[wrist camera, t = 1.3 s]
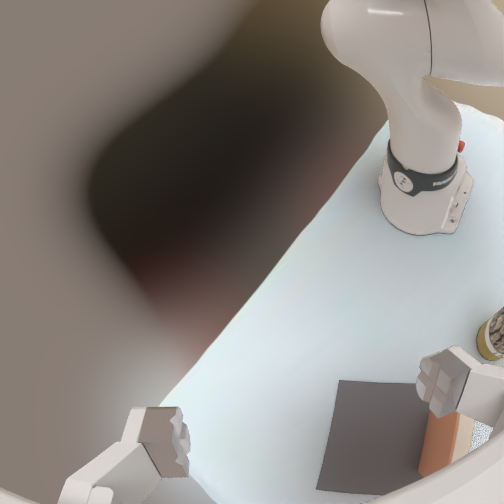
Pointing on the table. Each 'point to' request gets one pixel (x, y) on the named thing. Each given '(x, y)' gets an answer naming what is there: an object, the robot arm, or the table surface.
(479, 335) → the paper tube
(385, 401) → the mat
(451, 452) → the tile
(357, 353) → the table surface
